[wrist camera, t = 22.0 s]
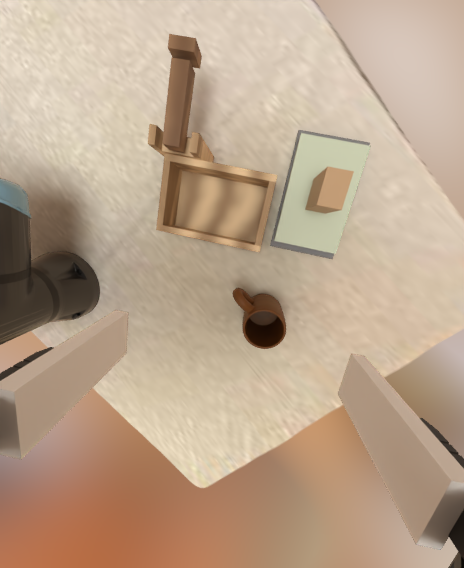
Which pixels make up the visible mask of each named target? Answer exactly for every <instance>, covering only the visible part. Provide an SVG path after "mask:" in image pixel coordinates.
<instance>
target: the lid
mask: <svg viewBox="0 0 464 568" xmlns="http://www.w3.org/2000/svg"><path fill="white" fill-rule="evenodd" d="M370 147H371V146H369V145H363V144H358V143H352V142H347V141H342V140H336V139H331V138H325V137H320V136H314V135H309V134H304V133H301V135H300V138H299V142H298V146H297V150H296V154H295V158H294V162H293V166H292V170H291V174H290V178H289V182H288V186H287V190H286V194H285V198H284V202H283V206H282V210H281V214H280V218H279V222H278V226H277V230H276V234H275V238H274V241H277V242H282V243H287V244H291V245H296V246H301V247H305V248H310V249H315V250H319V251H324V252H329V253H333V254H336V252H337V249H338V245H339V242H340V239H341V236H342V233H343V230H344V227H345V224H346V221H347V218H348V215H349V212H350V209H351V206H352V202H353V199H354V196H355V193H356V190H357V187H358V184H359V181H360V178H361V175H362V172H363V169H364V166H365V163H366V159H367V156H368V153H369V150H370Z"/></svg>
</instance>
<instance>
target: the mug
mask: <svg viewBox="0 0 464 568" xmlns="http://www.w3.org/2000/svg"><path fill="white" fill-rule="evenodd" d="M233 297H234V299H235V301H236V302H237V304H238V305H239V306H240V307H241V308H242V309H243V310H244V311H245V312H244V317H243V333H244V336H245V338H246V340H247V341H248V342H249V343H250V344H252V345H253V346H255V347H258V348H262V349H268V348H272V347H275V346H276V345H278V344H279V343H280V342H281V341H282V340H283V338H284V337H285V334H286V322H285V318H284V315H283V312H282V309H281V306H280V304H279V302H278V301H277V300H276V299H275V298H274V297H272V296H270V295H267V294H259V295H256V296H254V297H252V298H251V297H250V296H249V295H248V294H247V293H246V292H245V291H244V290H243V289H240V288H236V289H235V290H234V291H233Z"/></svg>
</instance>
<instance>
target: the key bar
mask: <svg viewBox="0 0 464 568" xmlns="http://www.w3.org/2000/svg"><path fill="white" fill-rule="evenodd" d="M168 49H169V51H170V53H171V55H172V57H173V58H172V59H171V69H170V78H169V87H168V96H167V105H166V115H165V124H164V133H163V142H162V144H163V145H164V146H165V147H166V148H168V149H169V150H172V151H178V152H183V153H185V145H186V138H187V130H188V123H189V115H190V108H191V100H192V93H193V85H194V78H195V72H194V70H193V67H194V68H200V64H201V57H202V56H201V53H200V50H199V47H198V44H197V41H196V38H190V37H184V36H178V35H172V34H169V43H168Z"/></svg>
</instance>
